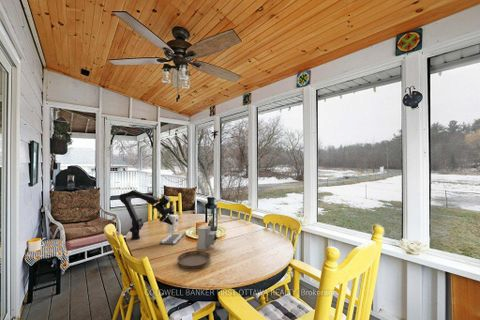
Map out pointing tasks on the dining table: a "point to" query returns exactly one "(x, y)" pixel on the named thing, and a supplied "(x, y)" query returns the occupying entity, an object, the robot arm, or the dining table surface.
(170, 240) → the rail plate
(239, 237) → the dining table surface
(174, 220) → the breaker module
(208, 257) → the plant saucer
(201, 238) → the circuit breaker
